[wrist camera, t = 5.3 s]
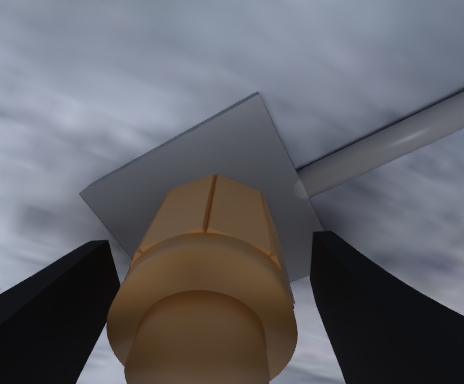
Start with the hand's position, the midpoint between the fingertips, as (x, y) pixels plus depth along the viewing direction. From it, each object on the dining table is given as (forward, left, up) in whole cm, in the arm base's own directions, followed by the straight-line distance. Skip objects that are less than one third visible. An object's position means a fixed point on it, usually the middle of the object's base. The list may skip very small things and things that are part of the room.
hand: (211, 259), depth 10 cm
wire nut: (0, 0, -2) cm, 2 cm away
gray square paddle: (-5, 0, -3) cm, 6 cm away
